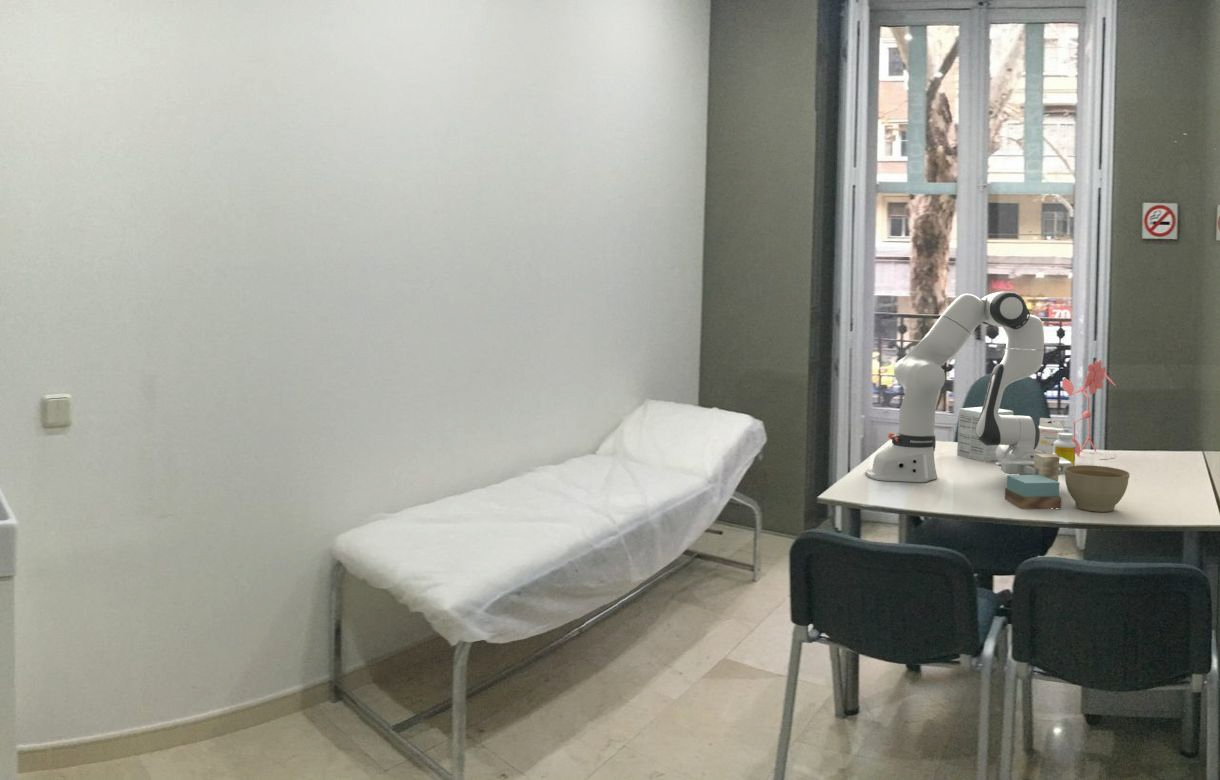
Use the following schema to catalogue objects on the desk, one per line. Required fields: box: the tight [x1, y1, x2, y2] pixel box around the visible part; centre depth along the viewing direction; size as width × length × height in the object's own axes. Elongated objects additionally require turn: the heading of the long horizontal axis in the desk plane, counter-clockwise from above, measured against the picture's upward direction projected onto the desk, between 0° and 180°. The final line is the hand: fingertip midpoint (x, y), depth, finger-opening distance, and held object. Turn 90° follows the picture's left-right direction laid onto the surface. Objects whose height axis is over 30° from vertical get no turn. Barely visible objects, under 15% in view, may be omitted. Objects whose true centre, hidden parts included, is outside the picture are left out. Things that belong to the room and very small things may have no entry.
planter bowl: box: [1064, 464, 1131, 513], centre depth 251 cm, size 16×16×11 cm
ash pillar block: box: [1034, 454, 1060, 482], centre depth 265 cm, size 5×5×12 cm
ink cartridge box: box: [1035, 417, 1065, 453], centre depth 316 cm, size 9×5×15 cm, turn 58°
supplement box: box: [956, 406, 1014, 462], centre depth 322 cm, size 13×13×18 cm
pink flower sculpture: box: [1061, 359, 1117, 461], centre depth 322 cm, size 15×26×35 cm, turn 121°
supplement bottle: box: [1053, 432, 1076, 466], centre depth 298 cm, size 7×7×13 cm
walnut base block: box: [1004, 487, 1062, 510], centre depth 256 cm, size 11×11×4 cm
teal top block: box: [1006, 474, 1060, 497], centre depth 256 cm, size 10×10×4 cm
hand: (1047, 472), depth 264 cm, fingers closed on ash pillar block, 5 cm apart
